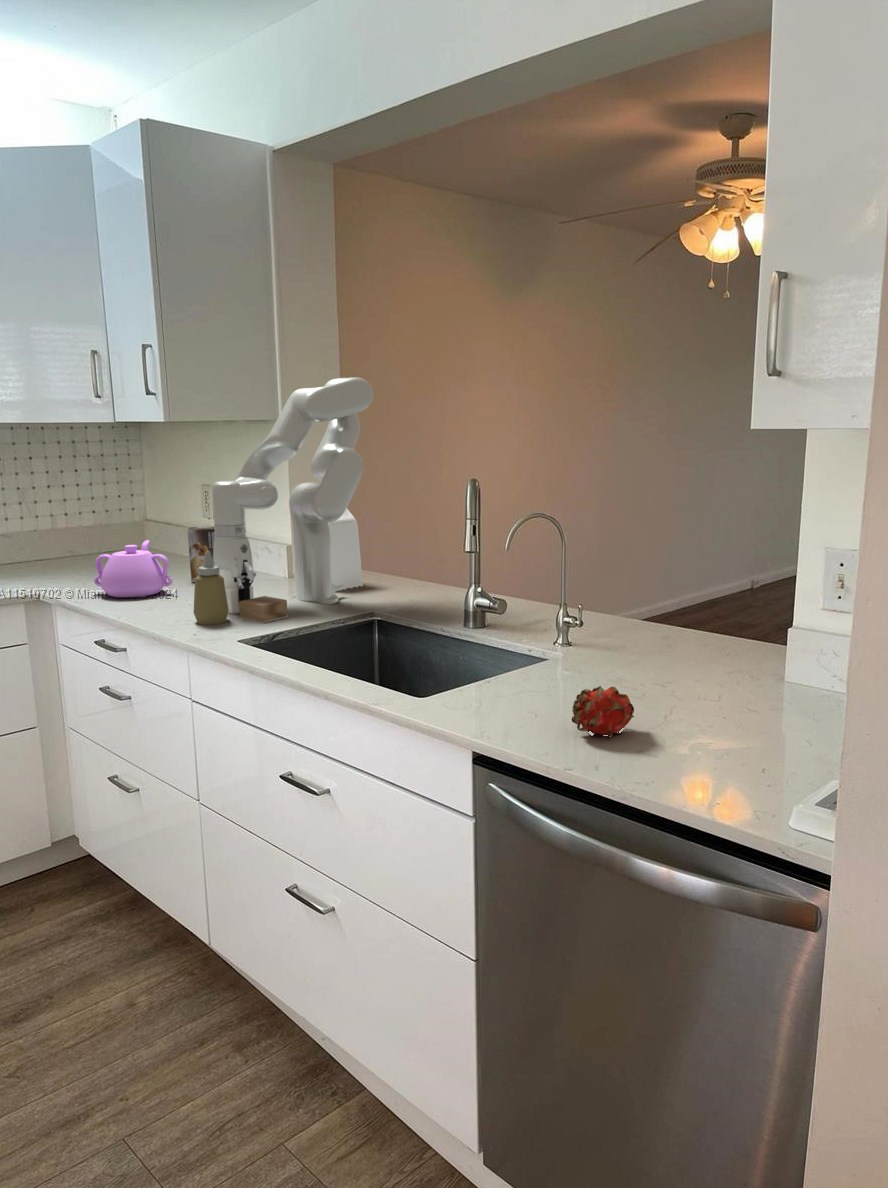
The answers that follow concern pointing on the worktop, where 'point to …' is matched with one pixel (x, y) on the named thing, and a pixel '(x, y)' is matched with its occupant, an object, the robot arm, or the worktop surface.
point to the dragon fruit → (602, 711)
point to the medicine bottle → (232, 591)
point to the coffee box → (199, 547)
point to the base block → (263, 608)
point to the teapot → (132, 572)
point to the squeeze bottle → (210, 594)
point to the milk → (345, 551)
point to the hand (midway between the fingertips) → (234, 601)
